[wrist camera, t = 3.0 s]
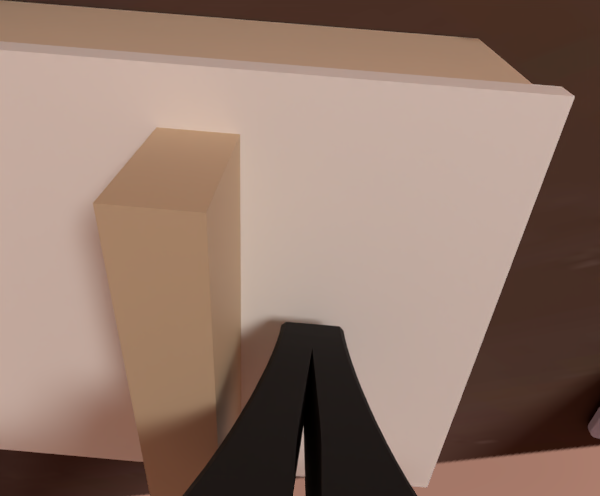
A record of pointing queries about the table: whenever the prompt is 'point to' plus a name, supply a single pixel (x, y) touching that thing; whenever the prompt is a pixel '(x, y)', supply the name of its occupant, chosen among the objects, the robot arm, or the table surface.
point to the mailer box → (253, 41)
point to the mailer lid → (247, 242)
